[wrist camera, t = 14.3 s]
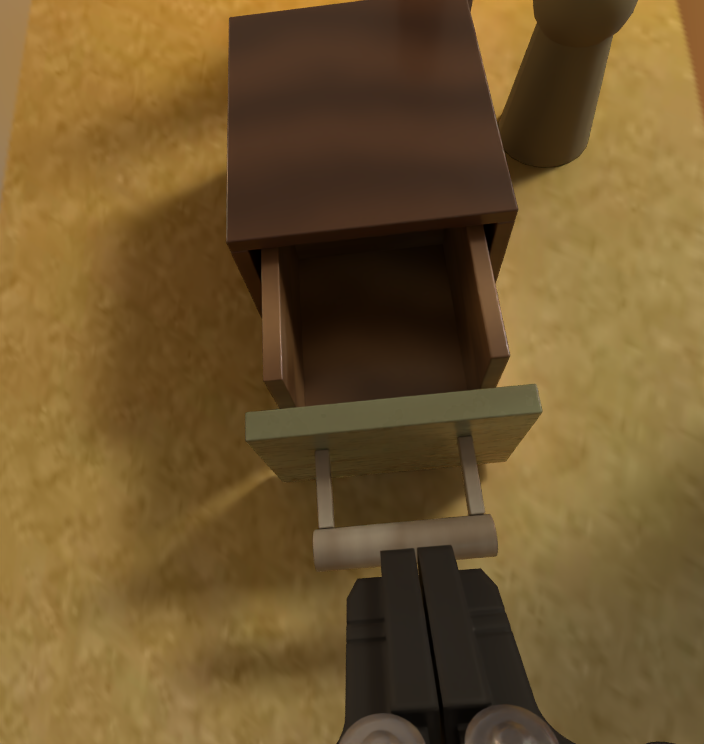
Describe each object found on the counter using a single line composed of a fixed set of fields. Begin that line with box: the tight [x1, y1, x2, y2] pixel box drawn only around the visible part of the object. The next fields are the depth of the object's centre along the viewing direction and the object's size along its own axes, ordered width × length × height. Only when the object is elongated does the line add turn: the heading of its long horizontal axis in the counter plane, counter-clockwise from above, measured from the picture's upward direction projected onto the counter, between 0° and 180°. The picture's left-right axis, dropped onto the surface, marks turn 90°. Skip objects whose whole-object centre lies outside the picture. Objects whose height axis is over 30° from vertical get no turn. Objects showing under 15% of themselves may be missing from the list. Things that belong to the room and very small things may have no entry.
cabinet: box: [226, 0, 518, 318], centre depth 31 cm, size 15×13×10 cm
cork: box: [498, 0, 638, 167], centre depth 32 cm, size 6×6×11 cm
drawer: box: [245, 224, 543, 572], centre depth 26 cm, size 18×11×8 cm, turn 5°
